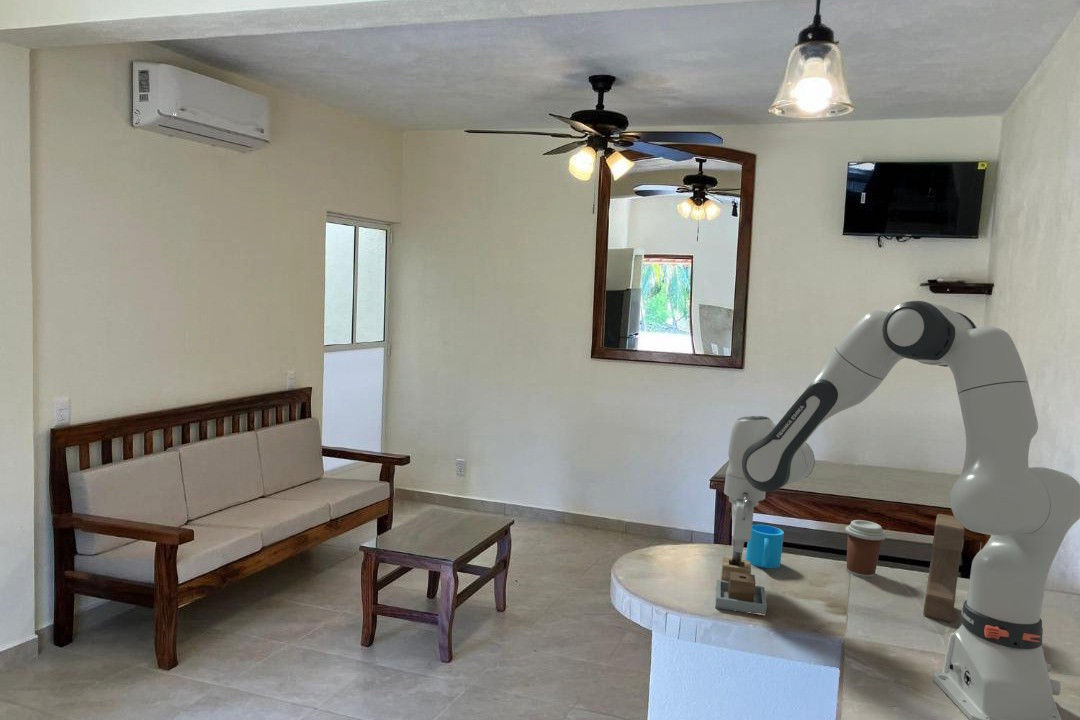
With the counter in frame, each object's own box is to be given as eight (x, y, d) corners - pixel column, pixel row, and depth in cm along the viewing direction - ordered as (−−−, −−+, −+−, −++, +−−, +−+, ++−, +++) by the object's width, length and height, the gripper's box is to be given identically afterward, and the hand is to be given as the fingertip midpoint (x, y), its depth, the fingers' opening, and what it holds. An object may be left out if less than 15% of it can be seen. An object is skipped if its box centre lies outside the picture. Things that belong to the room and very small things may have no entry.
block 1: (748, 592, 179) (751, 569, 179) (720, 587, 181) (723, 565, 180) (747, 582, 185) (750, 561, 185) (720, 578, 186) (723, 557, 186)
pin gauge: (740, 571, 181) (744, 531, 180) (731, 569, 182) (735, 530, 181) (740, 568, 183) (744, 529, 182) (731, 566, 184) (735, 527, 183)
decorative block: (951, 623, 171) (964, 529, 169) (921, 615, 174) (934, 523, 172) (954, 606, 181) (966, 518, 179) (925, 600, 183) (937, 512, 181)
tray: (765, 616, 167) (766, 605, 166) (715, 608, 169) (716, 597, 168) (763, 596, 177) (764, 586, 177) (715, 589, 179) (716, 579, 179)
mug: (745, 554, 205) (748, 522, 204) (779, 559, 203) (782, 527, 203) (746, 570, 193) (749, 536, 193) (782, 575, 192) (786, 541, 191)
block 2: (752, 606, 170) (755, 583, 169) (728, 602, 171) (730, 579, 170) (752, 597, 175) (754, 575, 174) (728, 594, 176) (730, 571, 175)
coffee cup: (851, 563, 205) (857, 516, 204) (887, 575, 198) (893, 526, 197) (833, 570, 199) (839, 521, 197) (870, 582, 192) (876, 532, 191)
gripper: (761, 502, 170) (754, 566, 171) (758, 479, 190) (751, 537, 191) (730, 497, 171) (723, 561, 173) (730, 476, 191) (723, 533, 193)
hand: (738, 549), depth 182 cm, fingers closed on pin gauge, 2 cm apart
